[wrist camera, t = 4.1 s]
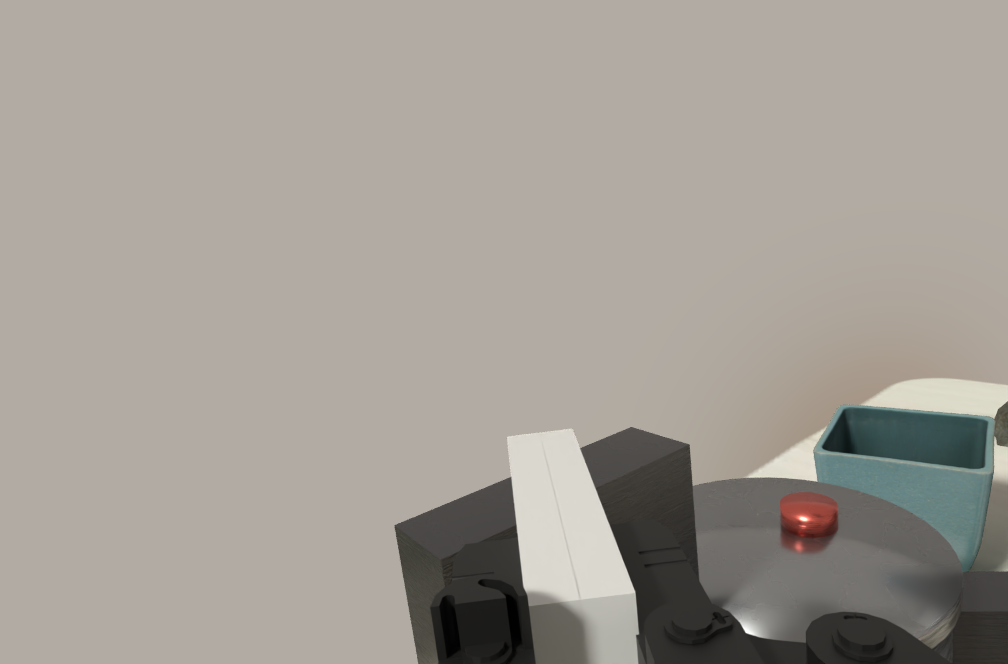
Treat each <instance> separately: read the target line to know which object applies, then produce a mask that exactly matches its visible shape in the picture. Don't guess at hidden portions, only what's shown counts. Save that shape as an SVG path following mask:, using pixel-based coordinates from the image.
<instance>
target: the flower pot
mask: <svg viewBox="0 0 1008 664" xmlns="http://www.w3.org/2000/svg"><path fill="white" fill-rule="evenodd" d="M995 425H996V421H995V420H994V419H993V418H992V417H988V416H978V415H969V414H956V413H943V412H933V411H920V410H908V409H896V408H886V407H873V406H861V405H841V406H840V407H838V408H837V410H836V412H835V413H834V415H833V418H832V419H831V421H830V423H829V425H828V426H827V428H826V430H825V431H824V433H823V434H822V436H821V438H820V439H819V441H818V442H817V444H816V446H815V447H814V450H813V452H814V459H815V466H816V473H817V480H818V482H821V483H827V484H832V485H837V486H841V487H845V488H849V489H853V490H857V491H860V492H863V493H866V494H870V495H873V496H876V497H878V498H881V499H883V500H886V501H888V502H891V503H893V504H895V505H897V506H899V507H901V508H903V509H905V510H907V511H909V512H911V513H913V514H914V515H916V516H918V517H919V518H921V519H922V520H924V521H926V522H927V523H928V524H929V525H931V526H932V527H933V528H935V529H936V530H937V531H938V532H939V533H940V534H941V535H942V536H943V537H944V538H945V539H946V540H947V541H948V542H949V543H950V545H951V546H952V548H953V549H954V551H955V552H956V554H957V556H958V558H959V561H960V563H961V566H962V572H968V571H969V570H970V568H971V566H972V564H973V562H974V560H975V558H976V556H977V553H978V551H979V548H980V544H981V541H982V536H983V531H984V525H985V519H986V513H987V508H988V502H989V497H990V491H991V485H992V479H993V473H994V433H995Z"/></svg>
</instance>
